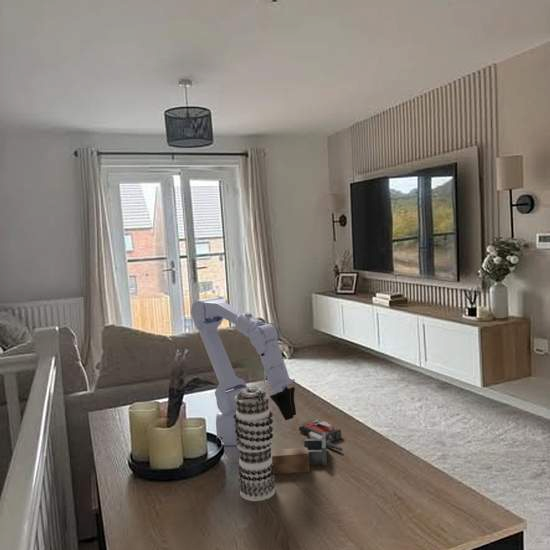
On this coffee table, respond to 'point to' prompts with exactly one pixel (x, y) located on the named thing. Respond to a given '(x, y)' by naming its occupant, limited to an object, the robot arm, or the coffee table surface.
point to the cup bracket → (316, 450)
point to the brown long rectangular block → (290, 460)
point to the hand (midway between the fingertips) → (291, 417)
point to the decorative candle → (254, 444)
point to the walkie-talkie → (316, 429)
